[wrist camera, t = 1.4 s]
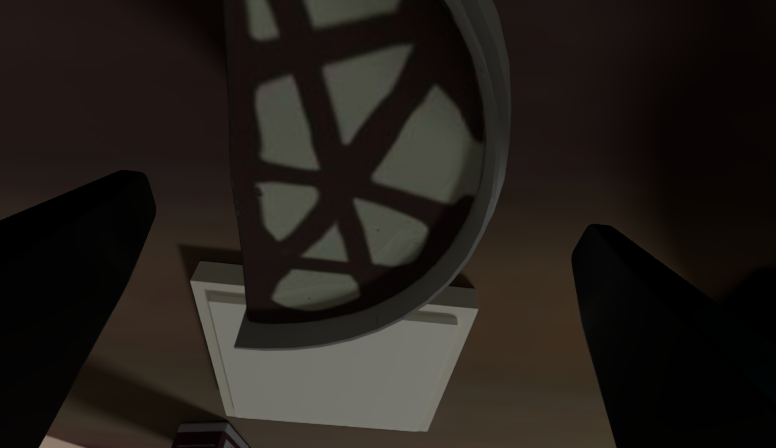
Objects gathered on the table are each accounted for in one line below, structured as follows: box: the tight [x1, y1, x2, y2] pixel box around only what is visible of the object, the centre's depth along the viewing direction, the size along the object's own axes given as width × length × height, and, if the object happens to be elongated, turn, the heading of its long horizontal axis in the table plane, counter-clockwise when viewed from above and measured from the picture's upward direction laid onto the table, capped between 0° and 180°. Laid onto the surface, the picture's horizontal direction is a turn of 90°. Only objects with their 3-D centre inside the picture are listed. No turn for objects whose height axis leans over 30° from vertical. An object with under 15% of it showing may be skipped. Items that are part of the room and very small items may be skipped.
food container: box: [222, 0, 511, 351], centre depth 12 cm, size 12×6×10 cm, turn 170°
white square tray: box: [190, 261, 479, 432], centre depth 29 cm, size 16×16×2 cm
